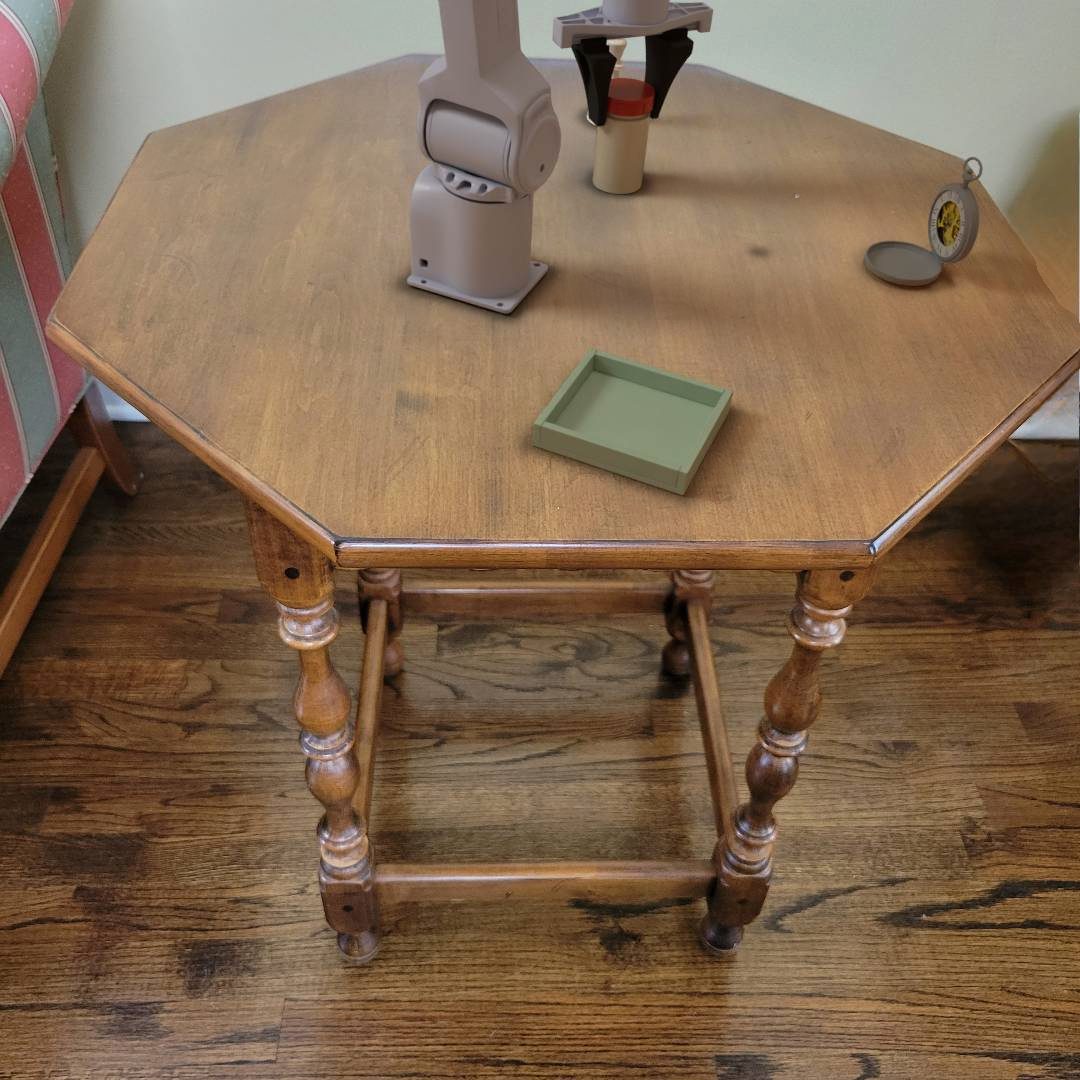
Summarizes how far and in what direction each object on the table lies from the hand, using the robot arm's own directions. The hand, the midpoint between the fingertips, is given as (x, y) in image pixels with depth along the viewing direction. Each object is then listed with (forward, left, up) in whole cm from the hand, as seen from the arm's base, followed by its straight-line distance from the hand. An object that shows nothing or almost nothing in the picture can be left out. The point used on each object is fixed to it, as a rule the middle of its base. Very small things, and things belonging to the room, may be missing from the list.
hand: (624, 117), depth 99 cm
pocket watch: (+29, -2, -7) cm, 30 cm away
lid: (0, 0, +2) cm, 2 cm away
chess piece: (-6, +13, -7) cm, 16 cm away
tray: (+15, -35, -6) cm, 38 cm away
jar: (0, 0, -6) cm, 6 cm away
